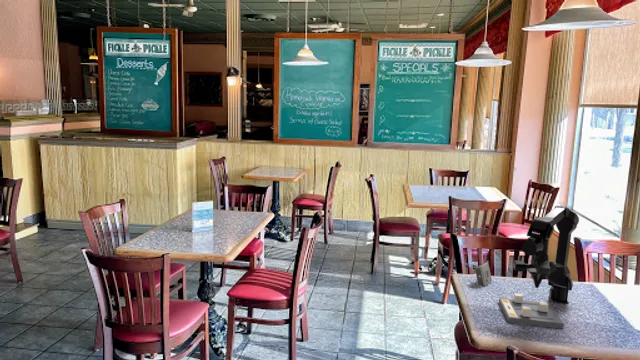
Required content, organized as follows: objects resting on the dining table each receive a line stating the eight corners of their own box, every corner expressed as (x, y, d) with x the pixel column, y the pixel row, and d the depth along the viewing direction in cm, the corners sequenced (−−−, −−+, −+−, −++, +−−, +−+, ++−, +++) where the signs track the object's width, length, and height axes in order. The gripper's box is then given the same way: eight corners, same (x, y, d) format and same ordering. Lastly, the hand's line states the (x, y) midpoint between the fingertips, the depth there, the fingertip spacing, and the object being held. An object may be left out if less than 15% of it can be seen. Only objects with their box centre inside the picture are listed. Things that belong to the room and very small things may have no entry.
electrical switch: (485, 286, 220) (485, 267, 219) (474, 284, 223) (474, 265, 222) (492, 281, 227) (491, 262, 226) (481, 280, 230) (481, 261, 230)
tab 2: (545, 309, 190) (546, 302, 189) (547, 312, 187) (548, 305, 186) (537, 308, 190) (538, 301, 190) (539, 311, 187) (540, 304, 187)
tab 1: (529, 314, 184) (529, 306, 184) (531, 317, 181) (531, 309, 181) (521, 313, 185) (521, 306, 184) (522, 316, 182) (523, 309, 181)
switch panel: (548, 307, 198) (548, 302, 197) (563, 328, 178) (563, 322, 178) (498, 302, 201) (499, 297, 201) (508, 322, 182) (508, 317, 181)
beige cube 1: (520, 300, 198) (521, 293, 197) (522, 303, 195) (523, 296, 194) (513, 299, 198) (514, 293, 198) (515, 302, 195) (515, 295, 195)
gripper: (520, 255, 179) (516, 293, 182) (572, 258, 176) (568, 297, 178) (513, 246, 190) (510, 282, 192) (562, 249, 187) (558, 286, 189)
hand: (536, 287), depth 188 cm, fingers closed
